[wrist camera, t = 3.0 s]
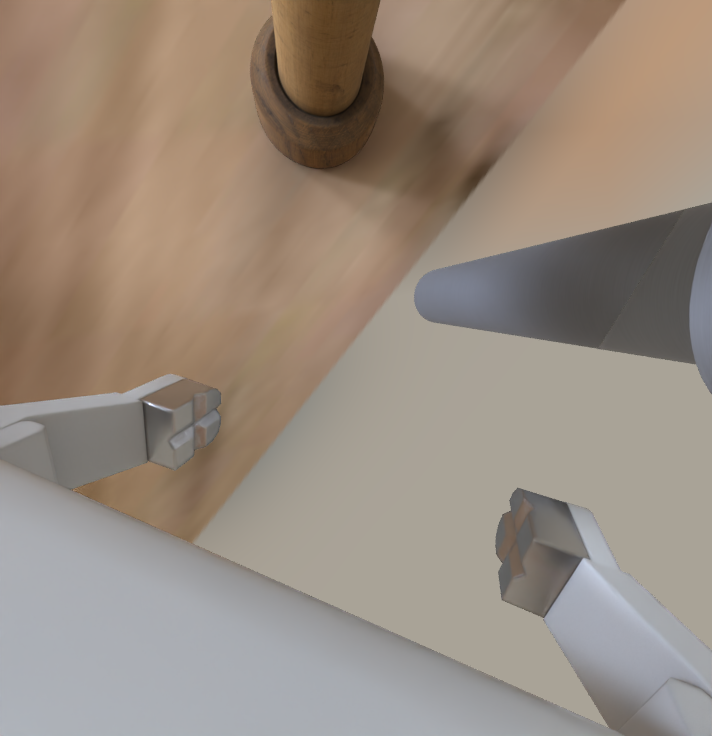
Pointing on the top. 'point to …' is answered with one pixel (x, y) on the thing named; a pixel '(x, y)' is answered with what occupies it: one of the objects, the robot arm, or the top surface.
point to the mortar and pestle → (318, 78)
